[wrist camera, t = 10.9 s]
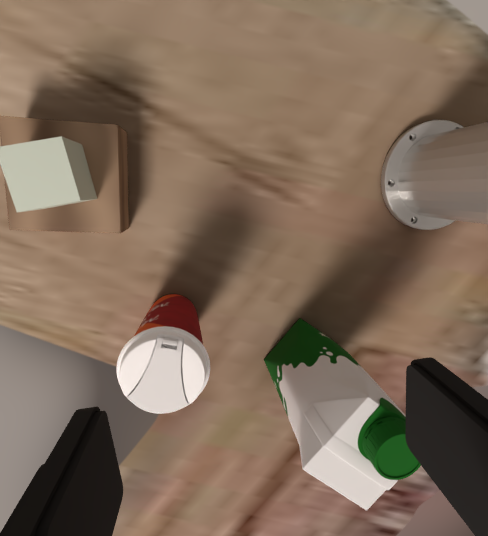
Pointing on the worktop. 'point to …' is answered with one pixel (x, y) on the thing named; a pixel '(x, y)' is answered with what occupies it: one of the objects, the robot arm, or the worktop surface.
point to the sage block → (46, 173)
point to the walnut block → (101, 170)
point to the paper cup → (165, 358)
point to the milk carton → (339, 416)
